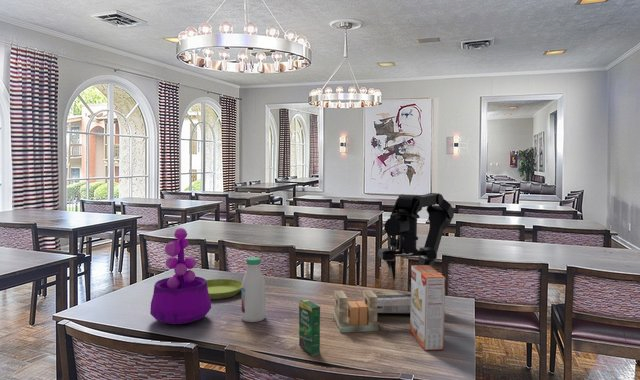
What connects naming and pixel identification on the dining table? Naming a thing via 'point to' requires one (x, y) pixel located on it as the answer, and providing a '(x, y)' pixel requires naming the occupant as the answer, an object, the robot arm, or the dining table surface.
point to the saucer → (223, 288)
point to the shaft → (394, 301)
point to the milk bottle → (253, 292)
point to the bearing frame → (341, 312)
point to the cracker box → (427, 307)
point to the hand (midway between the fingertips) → (406, 279)
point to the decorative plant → (180, 288)
